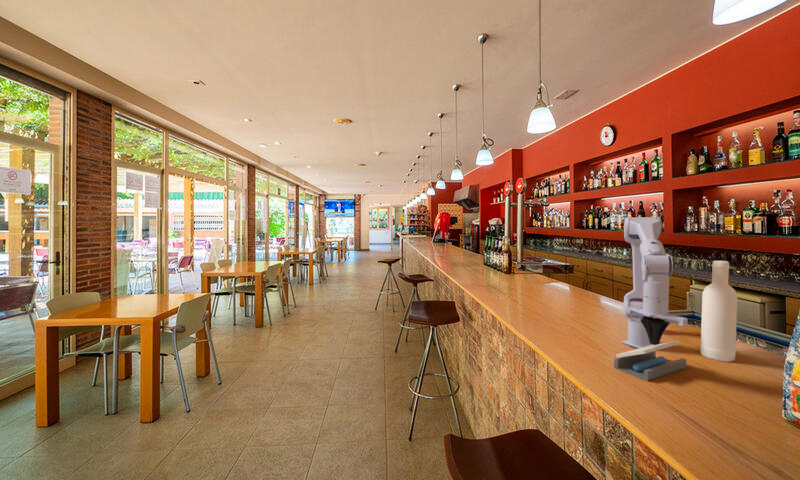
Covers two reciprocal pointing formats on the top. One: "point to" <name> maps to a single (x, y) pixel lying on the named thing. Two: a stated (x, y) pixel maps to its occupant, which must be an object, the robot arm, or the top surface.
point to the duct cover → (647, 349)
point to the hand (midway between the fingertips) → (654, 343)
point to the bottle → (719, 316)
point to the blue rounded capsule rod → (649, 363)
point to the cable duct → (650, 373)
